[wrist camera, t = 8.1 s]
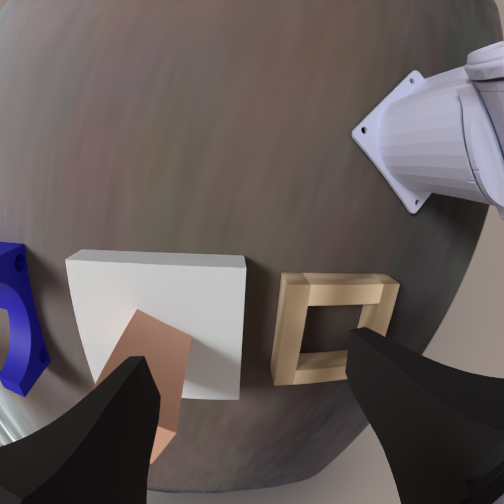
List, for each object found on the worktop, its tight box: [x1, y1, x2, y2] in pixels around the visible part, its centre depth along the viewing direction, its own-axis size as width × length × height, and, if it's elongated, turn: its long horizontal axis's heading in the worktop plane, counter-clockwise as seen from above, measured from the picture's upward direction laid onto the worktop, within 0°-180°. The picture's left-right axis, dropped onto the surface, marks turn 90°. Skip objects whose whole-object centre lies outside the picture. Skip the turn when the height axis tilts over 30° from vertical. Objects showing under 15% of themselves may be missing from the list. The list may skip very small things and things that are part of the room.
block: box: [92, 309, 192, 464], centre depth 13 cm, size 4×4×8 cm
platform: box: [65, 249, 246, 400], centre depth 18 cm, size 12×11×2 cm
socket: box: [270, 272, 400, 386], centre depth 20 cm, size 9×9×2 cm
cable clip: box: [0, 242, 51, 397], centre depth 15 cm, size 12×4×6 cm, turn 175°
